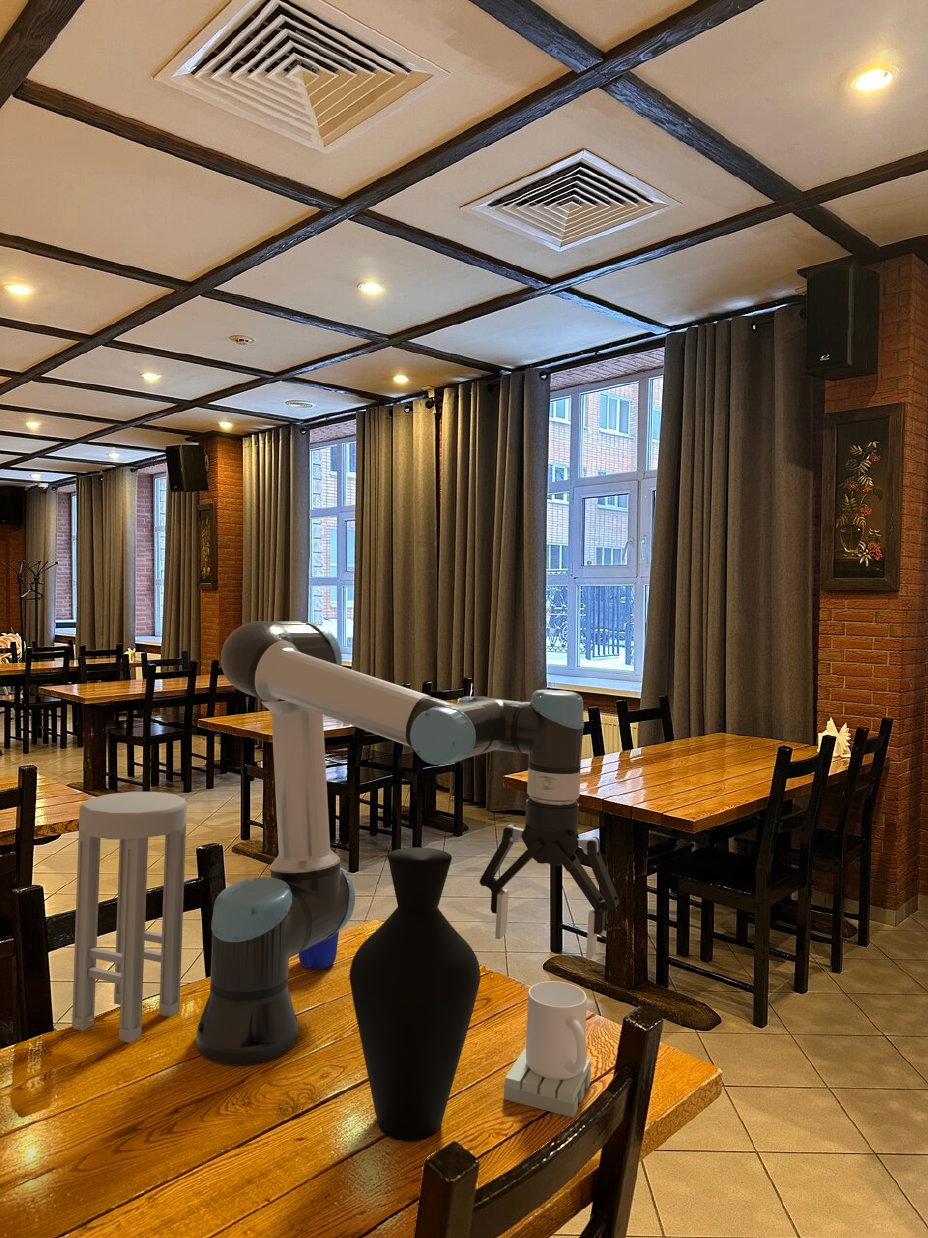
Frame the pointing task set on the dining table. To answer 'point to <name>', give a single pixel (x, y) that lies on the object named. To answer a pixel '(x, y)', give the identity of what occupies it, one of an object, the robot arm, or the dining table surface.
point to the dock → (545, 1088)
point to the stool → (129, 904)
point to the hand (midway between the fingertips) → (544, 945)
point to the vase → (414, 999)
